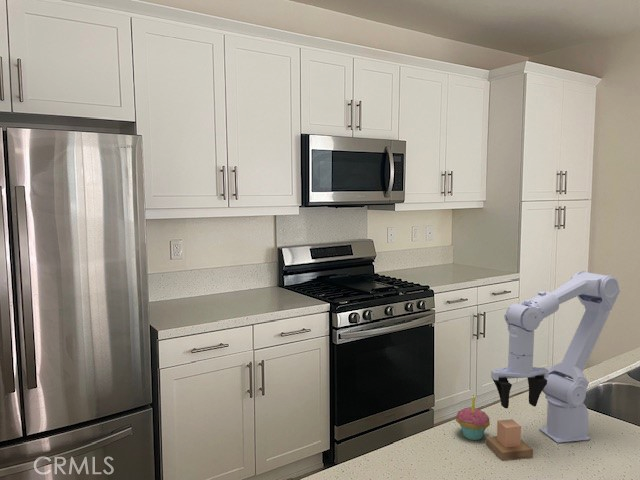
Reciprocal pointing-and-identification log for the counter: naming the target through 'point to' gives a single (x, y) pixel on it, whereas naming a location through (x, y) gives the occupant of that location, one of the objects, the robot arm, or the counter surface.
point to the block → (509, 433)
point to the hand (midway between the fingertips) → (518, 405)
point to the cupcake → (473, 421)
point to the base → (509, 450)
